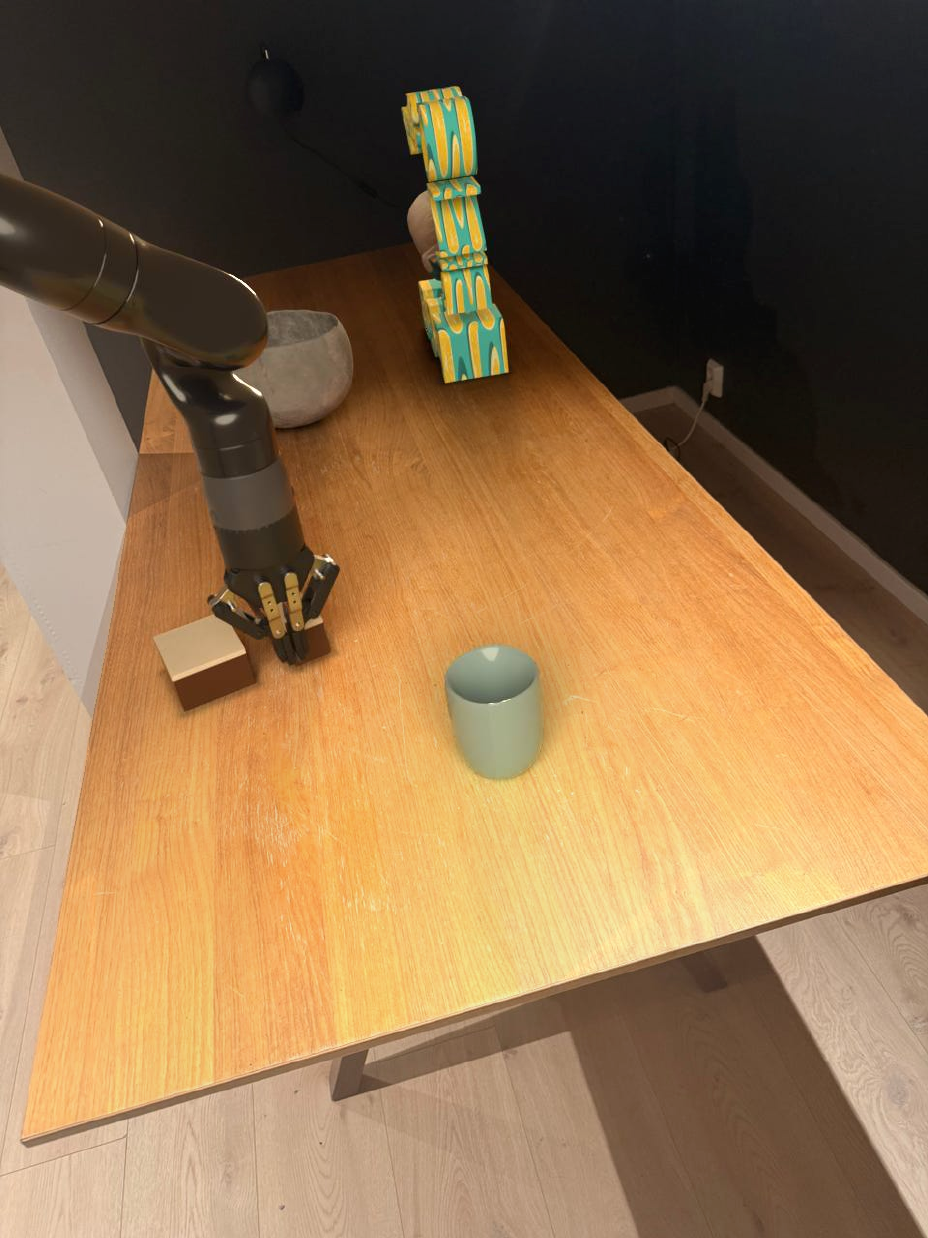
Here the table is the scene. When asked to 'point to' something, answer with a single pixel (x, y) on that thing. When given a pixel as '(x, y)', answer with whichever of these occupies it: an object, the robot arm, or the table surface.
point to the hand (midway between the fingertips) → (294, 659)
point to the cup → (496, 710)
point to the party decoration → (453, 238)
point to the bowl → (302, 367)
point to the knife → (259, 615)
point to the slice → (311, 636)
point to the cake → (204, 661)
